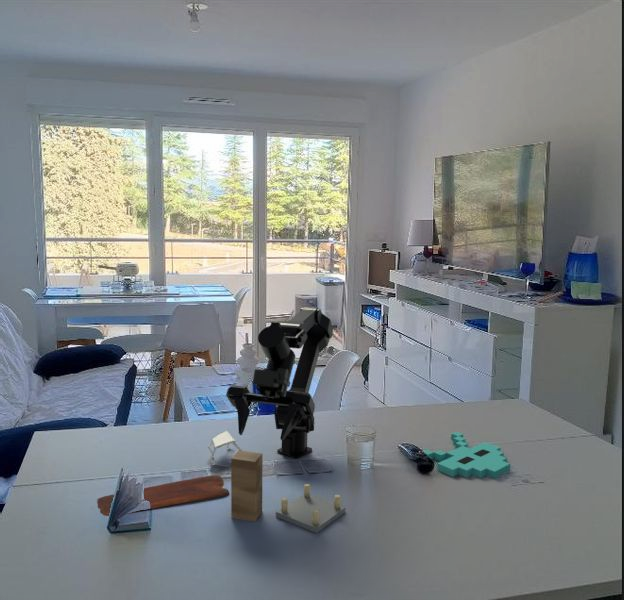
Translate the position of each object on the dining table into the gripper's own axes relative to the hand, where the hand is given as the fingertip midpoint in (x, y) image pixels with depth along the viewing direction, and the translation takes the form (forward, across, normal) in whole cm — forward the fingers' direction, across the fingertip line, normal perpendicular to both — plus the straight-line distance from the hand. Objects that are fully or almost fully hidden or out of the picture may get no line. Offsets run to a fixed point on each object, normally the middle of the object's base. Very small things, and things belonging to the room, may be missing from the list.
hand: (260, 437), depth 126 cm
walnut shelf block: (+15, 0, +4) cm, 15 cm away
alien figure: (-13, +41, +33) cm, 54 cm away
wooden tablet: (+14, -20, +6) cm, 25 cm away
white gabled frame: (-2, -15, +21) cm, 26 cm away
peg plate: (+12, +12, +7) cm, 18 cm away
